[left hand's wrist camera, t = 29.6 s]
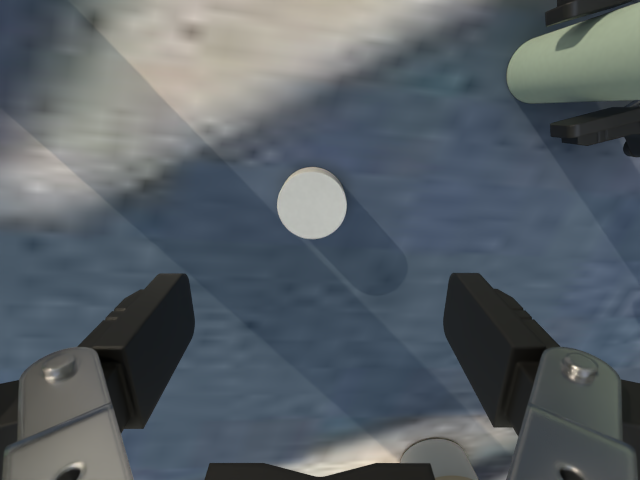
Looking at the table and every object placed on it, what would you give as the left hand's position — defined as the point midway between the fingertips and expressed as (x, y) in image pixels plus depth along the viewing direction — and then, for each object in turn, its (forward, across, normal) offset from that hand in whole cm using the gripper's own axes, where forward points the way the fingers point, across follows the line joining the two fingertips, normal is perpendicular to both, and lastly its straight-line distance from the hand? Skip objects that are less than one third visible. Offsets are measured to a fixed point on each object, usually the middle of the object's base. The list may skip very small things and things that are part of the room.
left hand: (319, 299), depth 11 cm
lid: (+16, -1, -2) cm, 16 cm away
